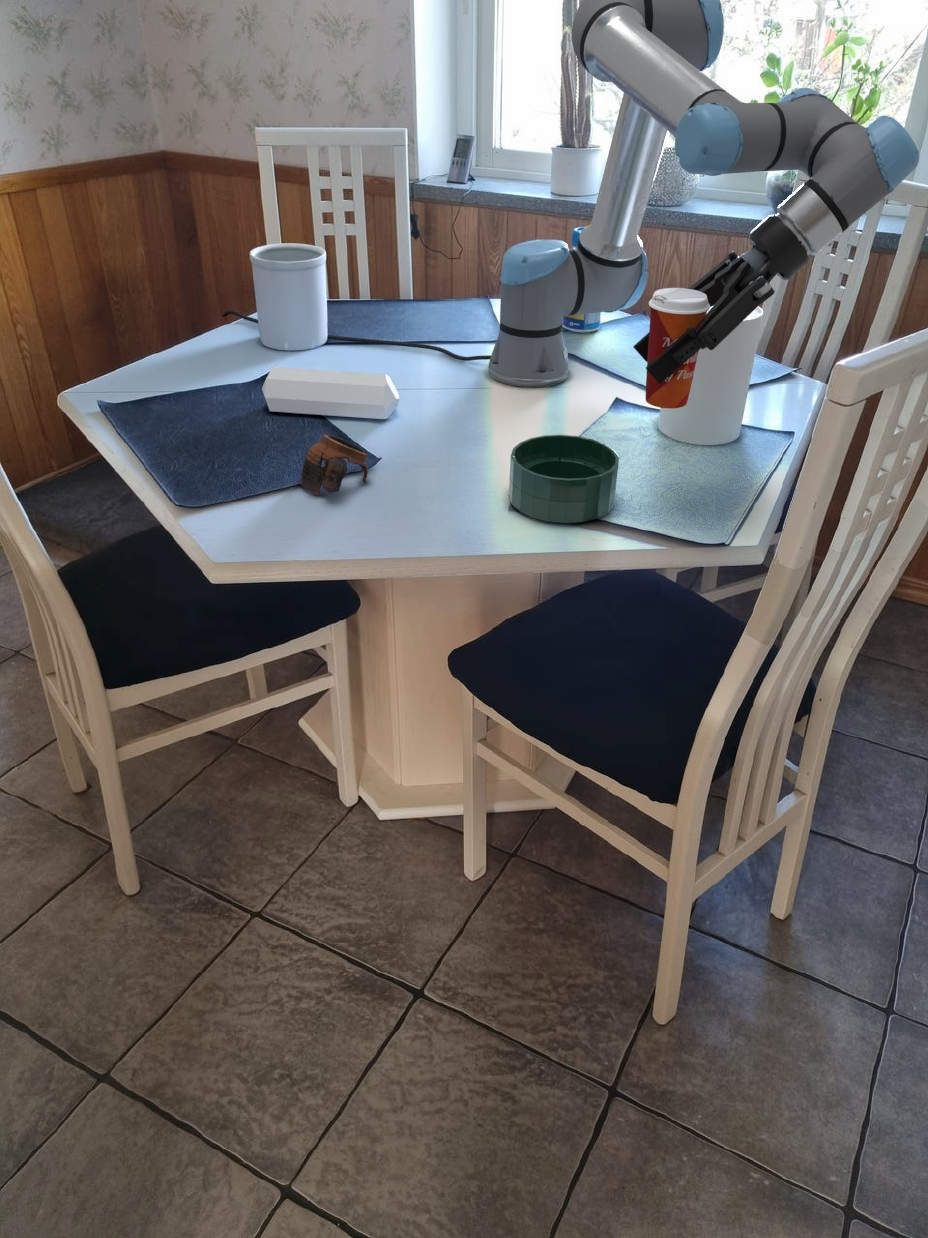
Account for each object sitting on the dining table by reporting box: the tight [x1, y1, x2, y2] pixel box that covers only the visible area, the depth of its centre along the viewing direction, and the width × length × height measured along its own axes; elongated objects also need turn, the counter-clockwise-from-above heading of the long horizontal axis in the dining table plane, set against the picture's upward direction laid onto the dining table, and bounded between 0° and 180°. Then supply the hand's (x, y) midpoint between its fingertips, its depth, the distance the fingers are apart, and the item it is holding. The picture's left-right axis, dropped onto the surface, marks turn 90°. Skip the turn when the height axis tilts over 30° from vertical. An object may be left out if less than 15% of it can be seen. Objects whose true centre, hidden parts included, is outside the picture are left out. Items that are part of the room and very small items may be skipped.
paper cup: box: [645, 287, 710, 408], centre depth 122 cm, size 8×8×14 cm
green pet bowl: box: [508, 434, 620, 524], centre depth 133 cm, size 15×15×7 cm
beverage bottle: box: [562, 226, 602, 334], centre depth 197 cm, size 8×8×20 cm
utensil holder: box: [249, 242, 328, 352], centre depth 188 cm, size 15×15×18 cm
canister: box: [657, 305, 764, 446], centre depth 152 cm, size 14×14×20 cm
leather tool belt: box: [299, 433, 369, 496], centre depth 136 cm, size 12×10×8 cm
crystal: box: [261, 366, 400, 420], centre depth 161 cm, size 7×7×24 cm
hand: (646, 364), depth 123 cm, fingers closed on paper cup, 8 cm apart
